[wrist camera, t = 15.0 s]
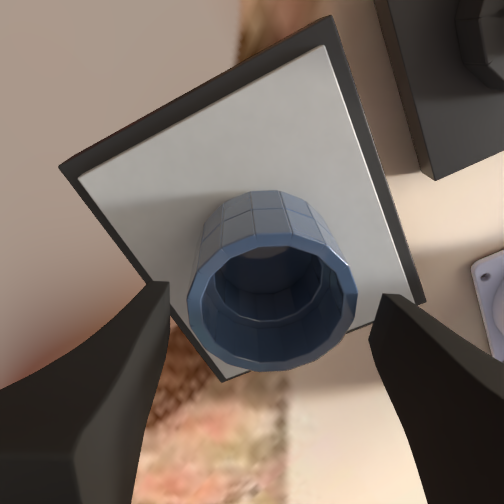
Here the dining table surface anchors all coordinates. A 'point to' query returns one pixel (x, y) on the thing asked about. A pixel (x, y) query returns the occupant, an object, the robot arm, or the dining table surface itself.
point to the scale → (251, 171)
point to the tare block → (448, 77)
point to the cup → (269, 284)
